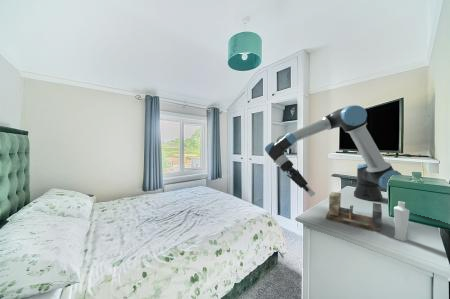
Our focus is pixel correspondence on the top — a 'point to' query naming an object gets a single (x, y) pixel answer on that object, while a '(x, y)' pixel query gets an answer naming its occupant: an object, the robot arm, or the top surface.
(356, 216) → the base
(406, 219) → the perfume bottle
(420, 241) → the top surface
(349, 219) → the peak needle
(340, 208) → the gauge plunger
